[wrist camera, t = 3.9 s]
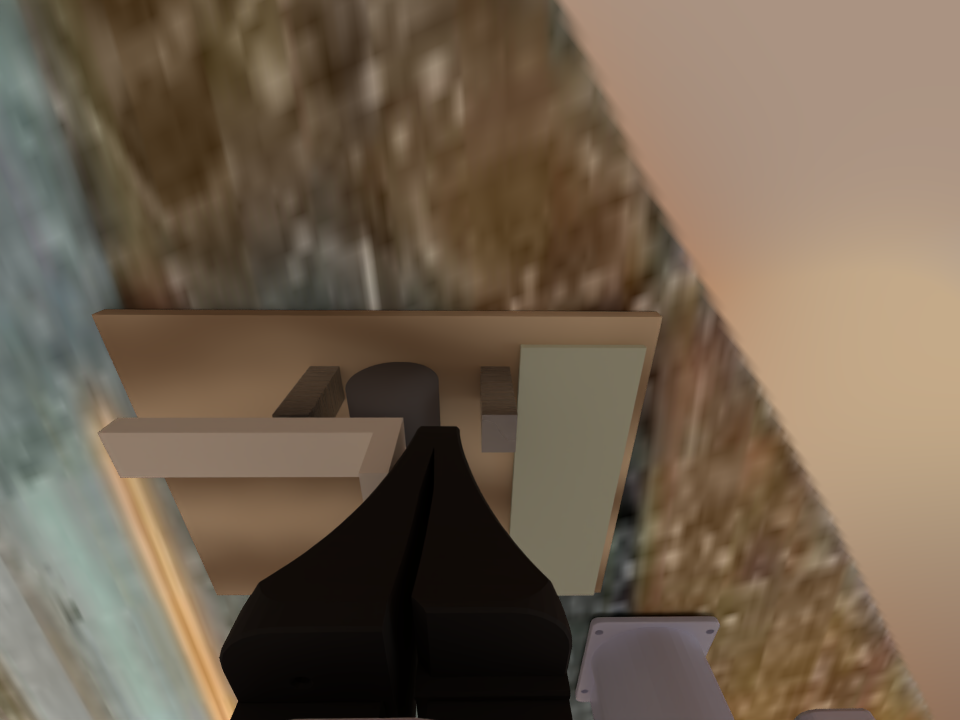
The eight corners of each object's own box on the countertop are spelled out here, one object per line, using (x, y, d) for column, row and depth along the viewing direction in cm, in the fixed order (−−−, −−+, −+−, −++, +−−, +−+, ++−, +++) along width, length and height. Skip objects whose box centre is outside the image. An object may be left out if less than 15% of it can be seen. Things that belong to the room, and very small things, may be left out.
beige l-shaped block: (407, 460, 14) (393, 521, 12) (138, 461, 14) (71, 522, 12) (403, 417, 13) (388, 473, 11) (118, 417, 13) (40, 474, 11)
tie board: (597, 582, 24) (619, 659, 20) (223, 585, 24) (177, 663, 20) (656, 311, 16) (708, 356, 13) (104, 309, 16) (-5, 355, 12)
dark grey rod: (455, 589, 23) (436, 654, 20) (398, 576, 23) (371, 638, 20) (449, 366, 16) (420, 413, 13) (371, 357, 17) (326, 400, 14)
